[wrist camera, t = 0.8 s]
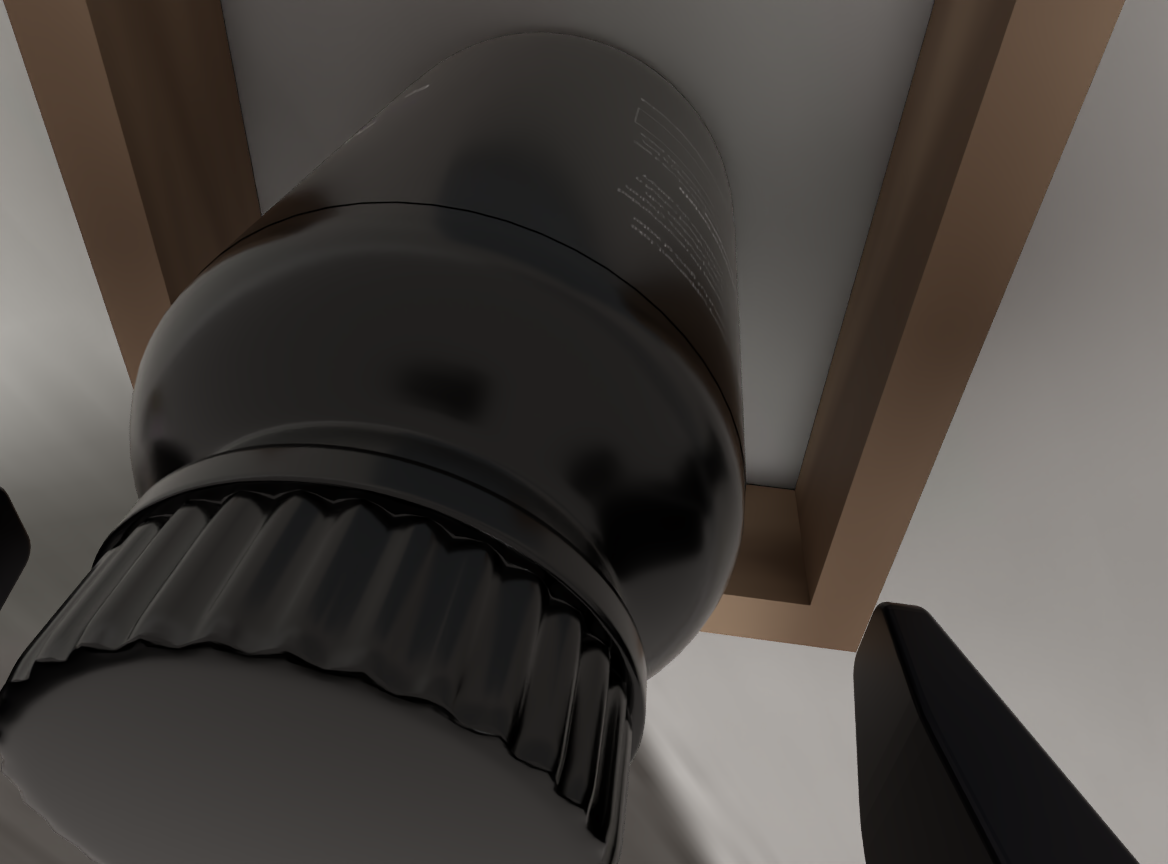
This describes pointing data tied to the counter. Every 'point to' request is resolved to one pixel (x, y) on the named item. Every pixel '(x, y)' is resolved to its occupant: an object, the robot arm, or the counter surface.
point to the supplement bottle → (414, 494)
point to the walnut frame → (874, 313)
